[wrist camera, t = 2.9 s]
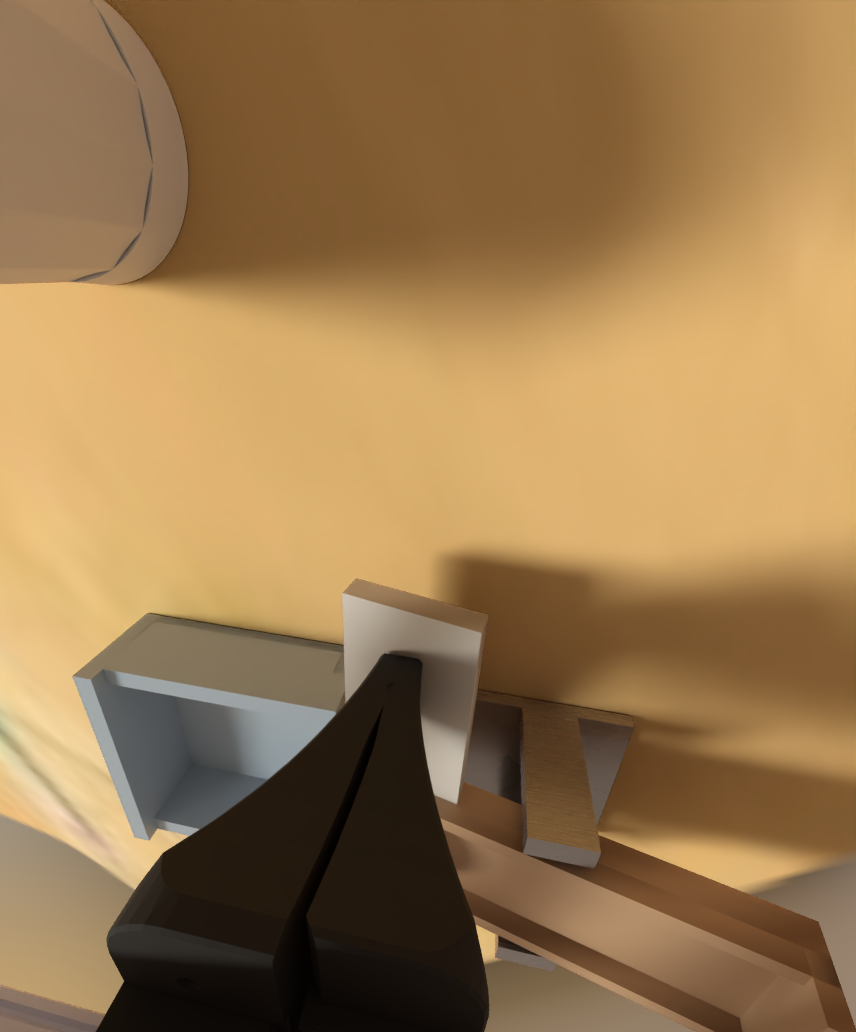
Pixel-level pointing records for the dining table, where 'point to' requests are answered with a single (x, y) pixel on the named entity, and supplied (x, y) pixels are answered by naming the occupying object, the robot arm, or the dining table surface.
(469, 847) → the seesaw
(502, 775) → the stand
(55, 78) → the cup
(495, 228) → the dining table surface
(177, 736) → the tray
